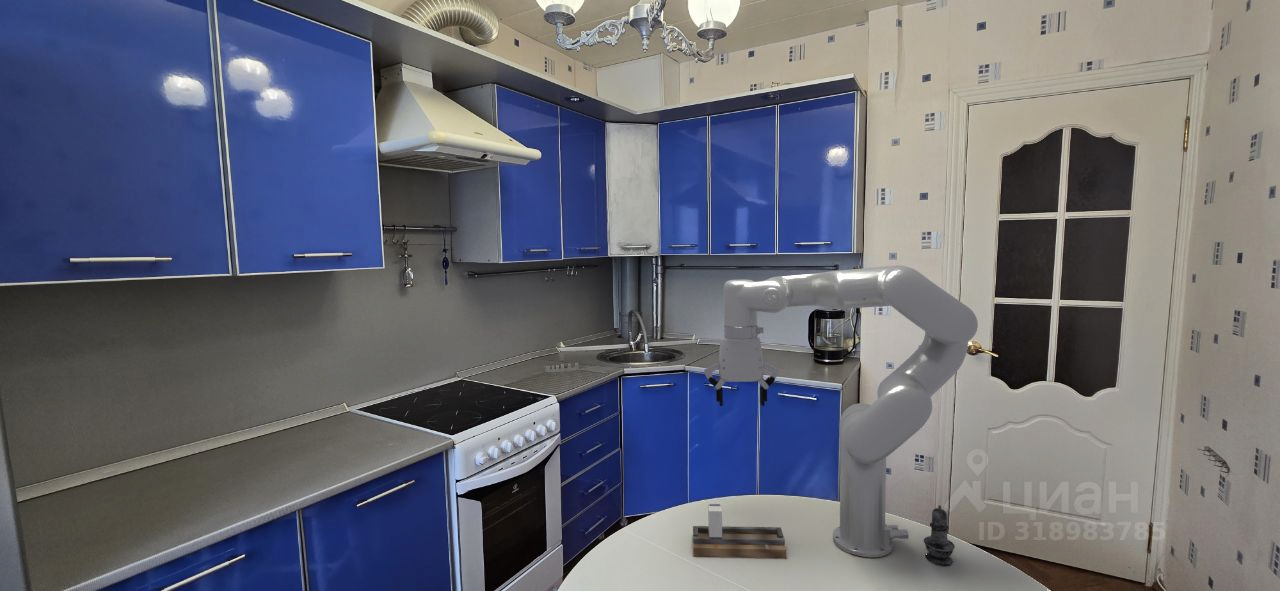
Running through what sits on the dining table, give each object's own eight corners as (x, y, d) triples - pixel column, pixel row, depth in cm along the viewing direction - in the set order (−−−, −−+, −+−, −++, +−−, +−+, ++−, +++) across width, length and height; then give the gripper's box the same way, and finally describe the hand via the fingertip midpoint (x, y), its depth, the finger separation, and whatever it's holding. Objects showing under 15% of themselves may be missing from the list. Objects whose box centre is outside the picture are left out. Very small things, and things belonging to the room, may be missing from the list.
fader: (721, 530, 128) (720, 499, 128) (722, 543, 123) (722, 510, 122) (708, 529, 129) (707, 498, 128) (709, 542, 123) (708, 510, 123)
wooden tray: (779, 536, 129) (779, 521, 129) (786, 558, 120) (786, 542, 120) (693, 535, 131) (692, 520, 131) (693, 556, 122) (693, 540, 122)
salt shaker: (944, 551, 121) (945, 498, 120) (960, 566, 116) (962, 511, 114) (917, 552, 121) (918, 499, 120) (932, 567, 115) (933, 512, 114)
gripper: (775, 329, 133) (776, 399, 134) (702, 330, 134) (704, 400, 136) (781, 334, 125) (781, 409, 127) (703, 335, 127) (705, 409, 128)
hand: (741, 404), depth 131 cm, fingers open, 9 cm apart
